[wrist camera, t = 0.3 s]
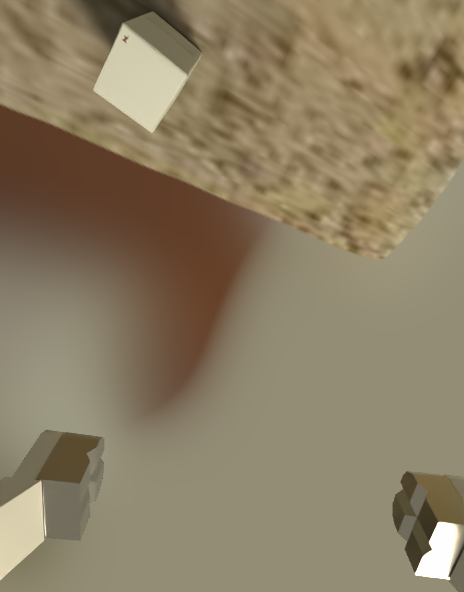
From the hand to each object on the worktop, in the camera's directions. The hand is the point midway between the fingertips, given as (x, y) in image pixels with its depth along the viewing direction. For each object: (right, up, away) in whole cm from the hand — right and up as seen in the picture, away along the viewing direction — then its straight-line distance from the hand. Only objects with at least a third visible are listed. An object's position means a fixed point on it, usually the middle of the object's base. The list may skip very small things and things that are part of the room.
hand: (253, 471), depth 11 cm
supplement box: (-9, +34, +39) cm, 53 cm away
